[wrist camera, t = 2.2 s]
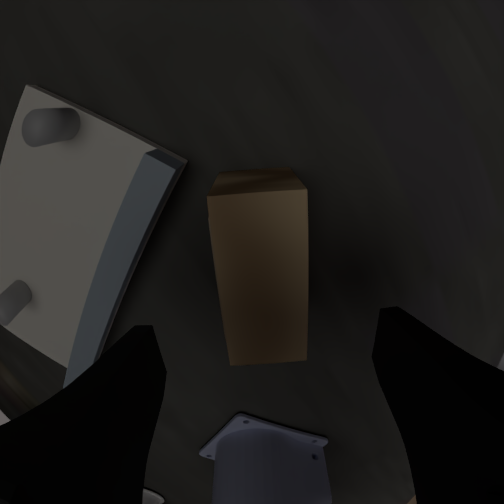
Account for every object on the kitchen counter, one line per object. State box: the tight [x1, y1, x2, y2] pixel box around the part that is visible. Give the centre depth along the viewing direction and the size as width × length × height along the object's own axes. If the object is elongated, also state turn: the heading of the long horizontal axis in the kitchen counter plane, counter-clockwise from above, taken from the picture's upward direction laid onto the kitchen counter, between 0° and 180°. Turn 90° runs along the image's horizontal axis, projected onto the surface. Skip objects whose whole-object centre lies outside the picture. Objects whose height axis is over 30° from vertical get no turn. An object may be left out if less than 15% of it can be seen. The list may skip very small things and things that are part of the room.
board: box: [0, 85, 188, 389], centre depth 16 cm, size 11×18×4 cm, turn 149°
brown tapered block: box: [207, 167, 308, 366], centre depth 16 cm, size 4×8×6 cm, turn 4°
